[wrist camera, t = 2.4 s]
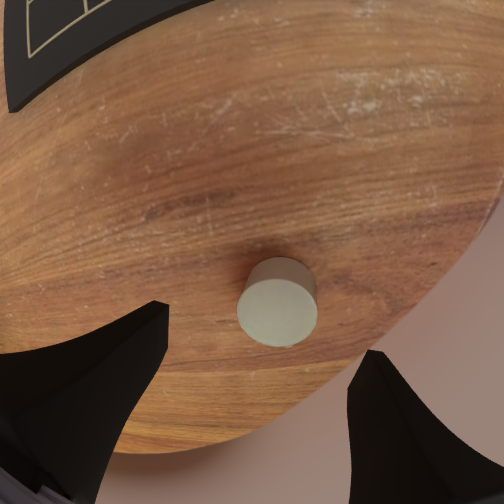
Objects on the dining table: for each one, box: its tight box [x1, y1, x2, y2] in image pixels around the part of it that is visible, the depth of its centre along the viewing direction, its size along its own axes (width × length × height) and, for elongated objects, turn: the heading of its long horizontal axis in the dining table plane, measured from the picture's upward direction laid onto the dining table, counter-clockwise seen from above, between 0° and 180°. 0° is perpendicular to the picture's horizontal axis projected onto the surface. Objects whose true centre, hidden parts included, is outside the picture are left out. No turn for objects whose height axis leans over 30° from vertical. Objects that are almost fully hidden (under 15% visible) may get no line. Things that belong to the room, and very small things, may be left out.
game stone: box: [237, 257, 318, 347], centre depth 18 cm, size 4×4×3 cm
